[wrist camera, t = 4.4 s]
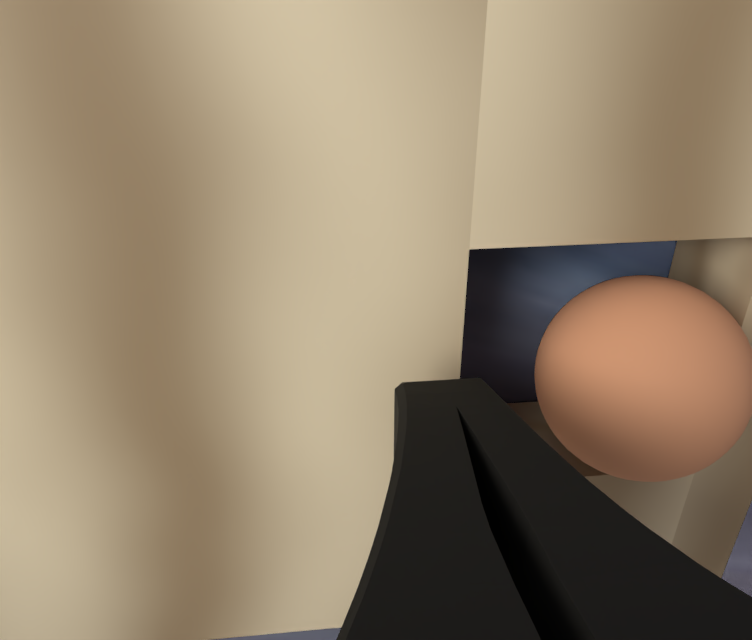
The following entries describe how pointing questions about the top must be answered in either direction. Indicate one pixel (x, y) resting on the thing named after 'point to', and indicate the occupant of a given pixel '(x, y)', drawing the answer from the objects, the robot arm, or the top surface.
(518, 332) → the top surface
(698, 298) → the ball
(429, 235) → the beige flat board
